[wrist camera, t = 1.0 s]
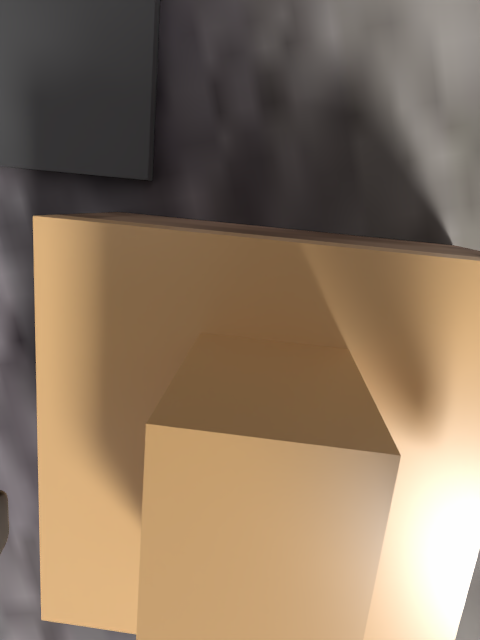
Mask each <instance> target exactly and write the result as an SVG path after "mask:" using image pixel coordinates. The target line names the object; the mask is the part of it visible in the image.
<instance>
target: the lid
mask: <svg viewBox="0 0 480 640" xmlns="http://www.w3.org/2000/svg"><path fill="white" fill-rule="evenodd" d="M33 247H34V295H35V342H36V389H37V436H38V484H39V531H40V578H41V620H45V621H52V622H58V623H65V624H72V625H78V626H85V627H92V628H98V629H105V630H111V631H118V632H125V633H131V634H136V640H455V637H456V634H457V630H458V626H459V623H460V619H461V615H462V612H463V608H464V604H465V600H466V597H467V593H468V589H469V586H470V582H471V578H472V574H473V571H474V567H475V563H476V560H477V556H478V552H479V549H480V257H472V256H462V255H452V254H442V253H432V252H422V251H413V250H403V249H393V248H383V247H373V246H363V245H353V244H343V243H333V242H323V241H313V240H303V239H293V238H283V237H273V236H263V235H253V234H243V233H233V232H223V231H214V230H204V229H194V228H184V227H174V226H164V225H154V224H144V223H134V222H124V221H114V220H104V219H94V218H84V217H74V216H64V215H39V216H33Z"/></svg>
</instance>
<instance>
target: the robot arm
mask: <svg viewBox="0 0 480 640" xmlns="http://www.w3.org/2000/svg"><path fill="white" fill-rule="evenodd" d="M8 534H9V519H8V499H7V495H6V493H5V492H4V491H2V490H0V554H1V552H2V550H3V548H4V546H5V544H6V541H7V538H8Z"/></svg>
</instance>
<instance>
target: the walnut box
mask: <svg viewBox="0 0 480 640" xmlns="http://www.w3.org/2000/svg"><path fill="white" fill-rule="evenodd" d="M62 215H64V216H74V217H84V218H94V219H104V220H114V221H124V222H134V223H144V224H154V225H164V226H174V227H184V228H194V229H204V230H214V231H223V232H233V233H243V234H253V235H263V236H273V237H283V238H293V239H303V240H313V241H323V242H333V243H343V244H353V245H363V246H373V247H383V248H393V249H403V250H413V251H422V252H432V253H442V254H452V255H462V256H472V257H480V251H476V250H472V249H468V248H463V247H459V246H454V245H445V244H435V243H425V242H415V241H405V240H395V239H385V238H375V237H365V236H355V235H345V234H334V233H324V232H314V231H304V230H294V229H284V228H274V227H264V226H254V225H244V224H234V223H224V222H214V221H204V220H194V219H184V218H174V217H163V216H153V215H143V214H133V213H123V212H108V213H85V214H62Z"/></svg>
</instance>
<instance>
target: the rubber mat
mask: <svg viewBox="0 0 480 640" xmlns="http://www.w3.org/2000/svg"><path fill="white" fill-rule="evenodd" d="M159 16H160V0H0V166H2V167H12V168H23V169H33V170H44V171H54V172H65V173H75V174H86V175H96V176H107V177H117V178H128V179H138V180H149V181H152V179H153V156H154V132H155V109H156V86H157V62H158V39H159Z"/></svg>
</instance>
